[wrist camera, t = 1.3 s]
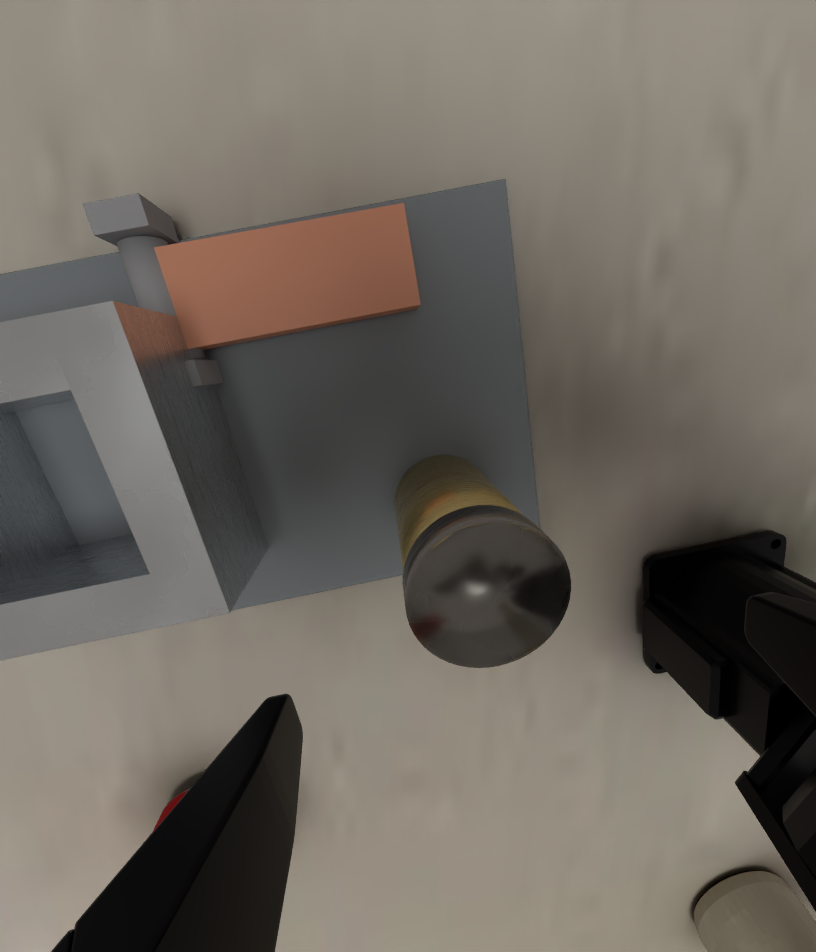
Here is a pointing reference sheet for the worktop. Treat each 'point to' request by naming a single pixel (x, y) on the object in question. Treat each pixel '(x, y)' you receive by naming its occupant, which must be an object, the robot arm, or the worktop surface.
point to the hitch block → (118, 483)
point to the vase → (754, 916)
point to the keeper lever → (277, 277)
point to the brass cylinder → (475, 567)
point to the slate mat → (325, 394)
